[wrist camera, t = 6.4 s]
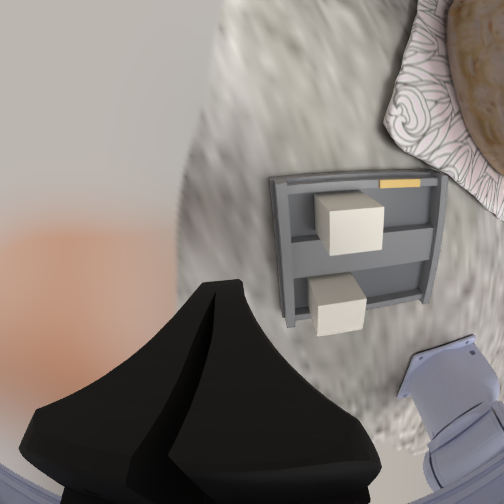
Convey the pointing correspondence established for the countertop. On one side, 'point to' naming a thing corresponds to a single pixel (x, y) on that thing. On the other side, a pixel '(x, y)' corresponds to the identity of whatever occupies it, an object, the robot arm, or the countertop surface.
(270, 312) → the countertop surface
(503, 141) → the cookie jar
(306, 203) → the tray
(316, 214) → the tab
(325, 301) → the tab
